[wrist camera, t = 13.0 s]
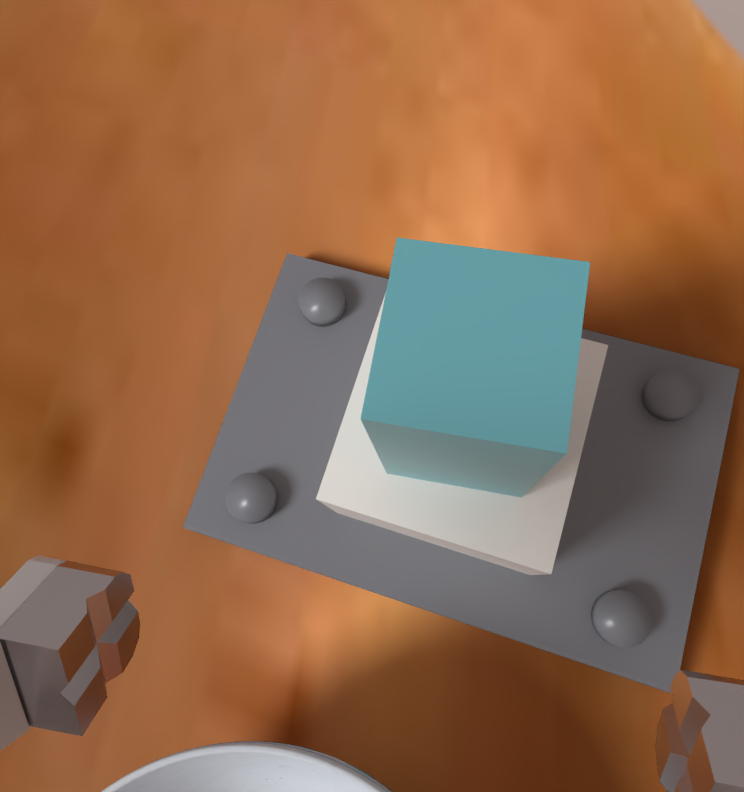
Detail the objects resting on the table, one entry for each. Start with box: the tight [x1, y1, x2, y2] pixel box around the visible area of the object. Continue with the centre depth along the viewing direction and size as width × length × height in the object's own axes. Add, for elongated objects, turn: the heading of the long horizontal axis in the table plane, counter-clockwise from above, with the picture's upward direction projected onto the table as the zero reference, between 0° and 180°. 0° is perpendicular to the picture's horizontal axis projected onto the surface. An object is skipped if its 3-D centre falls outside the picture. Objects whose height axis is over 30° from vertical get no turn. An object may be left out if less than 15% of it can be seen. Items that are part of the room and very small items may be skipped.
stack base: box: [183, 253, 740, 693], centre depth 26 cm, size 13×20×6 cm, turn 72°
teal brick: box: [361, 238, 590, 498], centre depth 19 cm, size 4×4×8 cm
